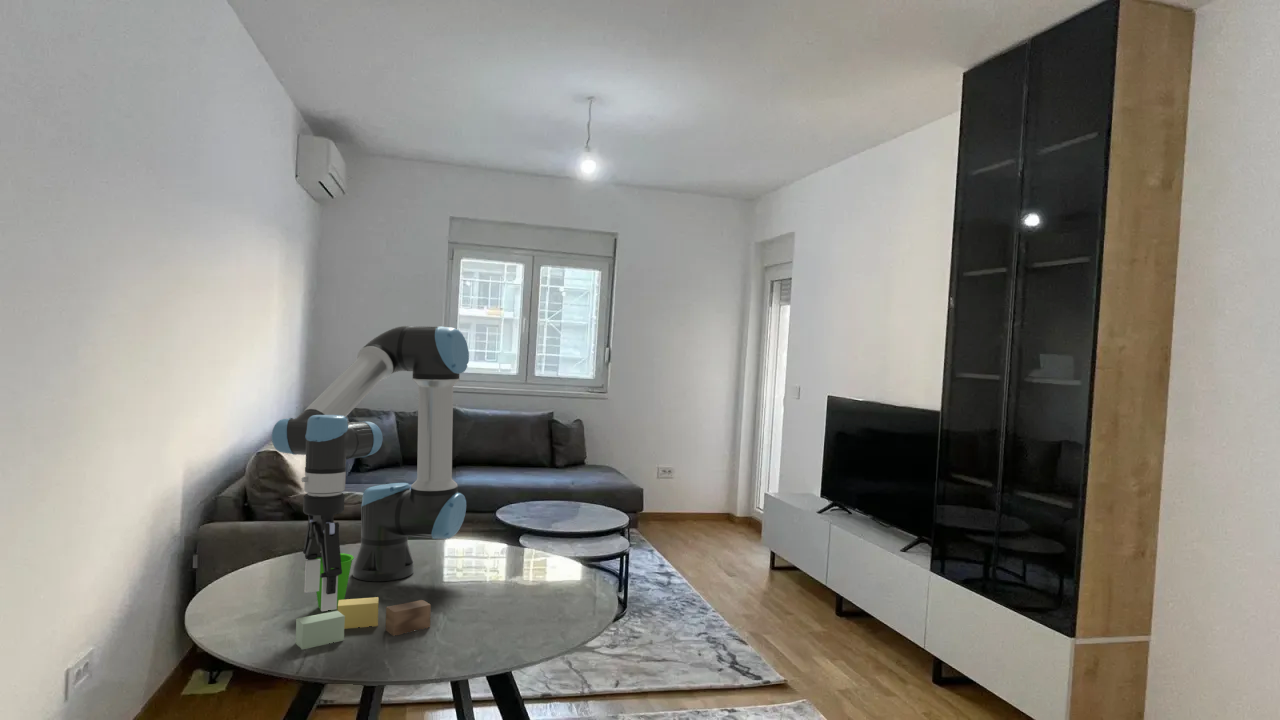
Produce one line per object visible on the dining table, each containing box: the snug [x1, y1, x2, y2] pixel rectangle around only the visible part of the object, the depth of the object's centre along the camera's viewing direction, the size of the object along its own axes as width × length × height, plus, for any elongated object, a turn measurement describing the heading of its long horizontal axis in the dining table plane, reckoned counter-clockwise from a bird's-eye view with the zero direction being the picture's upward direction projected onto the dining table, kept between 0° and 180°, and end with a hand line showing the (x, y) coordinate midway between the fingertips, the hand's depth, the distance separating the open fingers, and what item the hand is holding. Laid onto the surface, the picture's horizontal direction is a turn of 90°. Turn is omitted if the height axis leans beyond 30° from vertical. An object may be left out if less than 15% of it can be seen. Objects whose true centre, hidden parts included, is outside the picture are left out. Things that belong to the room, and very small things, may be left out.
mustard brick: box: [337, 596, 379, 630], centre depth 160 cm, size 8×4×5 cm, turn 109°
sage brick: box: [295, 610, 345, 650], centre depth 149 cm, size 8×4×5 cm, turn 132°
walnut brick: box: [385, 599, 432, 637], centre depth 158 cm, size 8×4×5 cm, turn 132°
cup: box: [316, 552, 355, 611], centre depth 170 cm, size 9×9×11 cm
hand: (319, 600), depth 149 cm, fingers open, 13 cm apart
